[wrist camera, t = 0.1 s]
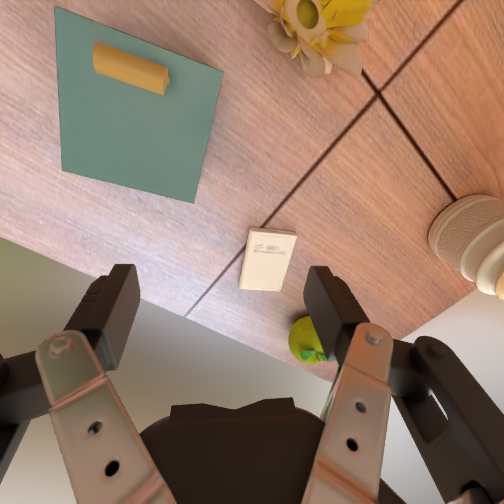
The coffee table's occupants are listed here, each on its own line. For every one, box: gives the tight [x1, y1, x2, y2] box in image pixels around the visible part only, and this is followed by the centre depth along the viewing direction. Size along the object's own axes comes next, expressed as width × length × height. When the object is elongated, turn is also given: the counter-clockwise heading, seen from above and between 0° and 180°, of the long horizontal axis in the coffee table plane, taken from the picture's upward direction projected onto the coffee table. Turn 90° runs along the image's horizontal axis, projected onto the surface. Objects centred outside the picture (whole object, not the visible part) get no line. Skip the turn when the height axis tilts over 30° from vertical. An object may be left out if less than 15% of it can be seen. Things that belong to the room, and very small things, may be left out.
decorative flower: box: [254, 0, 380, 78], centre depth 26 cm, size 15×11×10 cm
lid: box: [54, 6, 223, 204], centre depth 24 cm, size 13×14×5 cm
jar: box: [428, 194, 504, 300], centre depth 42 cm, size 13×13×18 cm
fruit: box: [289, 316, 331, 365], centre depth 55 cm, size 9×9×10 cm
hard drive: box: [239, 227, 297, 291], centre depth 47 cm, size 2×8×12 cm
